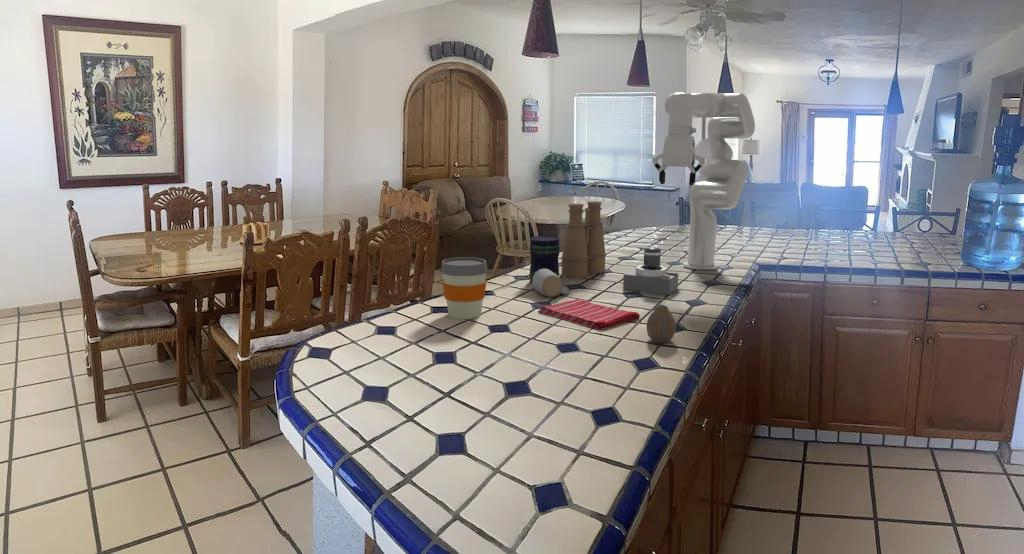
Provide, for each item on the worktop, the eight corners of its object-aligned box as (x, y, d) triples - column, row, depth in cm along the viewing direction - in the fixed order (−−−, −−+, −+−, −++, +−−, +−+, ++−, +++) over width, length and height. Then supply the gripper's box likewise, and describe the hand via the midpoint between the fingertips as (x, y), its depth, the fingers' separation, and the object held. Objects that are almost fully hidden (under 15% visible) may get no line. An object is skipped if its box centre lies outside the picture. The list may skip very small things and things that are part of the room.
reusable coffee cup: (492, 318, 182) (492, 264, 179) (446, 322, 179) (445, 266, 176) (481, 307, 194) (481, 256, 191) (438, 310, 191) (437, 258, 187)
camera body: (632, 283, 225) (633, 262, 224) (677, 288, 218) (678, 267, 217) (623, 289, 217) (623, 268, 215) (669, 294, 210) (670, 272, 208)
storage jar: (549, 287, 220) (550, 241, 216) (523, 283, 225) (524, 238, 221) (564, 281, 228) (565, 237, 225) (538, 278, 233) (539, 235, 230)
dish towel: (600, 332, 173) (600, 322, 172) (536, 313, 190) (536, 304, 189) (642, 320, 184) (642, 311, 183) (578, 303, 201) (578, 295, 200)
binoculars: (577, 280, 230) (579, 206, 225) (554, 275, 237) (555, 204, 231) (611, 271, 245) (614, 202, 240) (589, 267, 251) (591, 199, 246)
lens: (646, 271, 220) (647, 246, 218) (662, 272, 217) (663, 247, 216) (640, 274, 215) (641, 249, 214) (657, 276, 213) (658, 250, 211)
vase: (652, 334, 169) (654, 300, 167) (679, 339, 165) (681, 305, 163) (641, 341, 164) (642, 306, 162) (668, 346, 160) (670, 311, 158)
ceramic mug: (542, 299, 204) (542, 274, 203) (531, 292, 212) (532, 268, 210) (573, 296, 208) (574, 272, 206) (561, 290, 215) (562, 267, 214)
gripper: (709, 132, 221) (705, 184, 225) (657, 131, 229) (654, 182, 232) (703, 132, 214) (700, 186, 218) (650, 131, 222) (648, 184, 226)
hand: (676, 184), depth 225 cm, fingers open, 9 cm apart
